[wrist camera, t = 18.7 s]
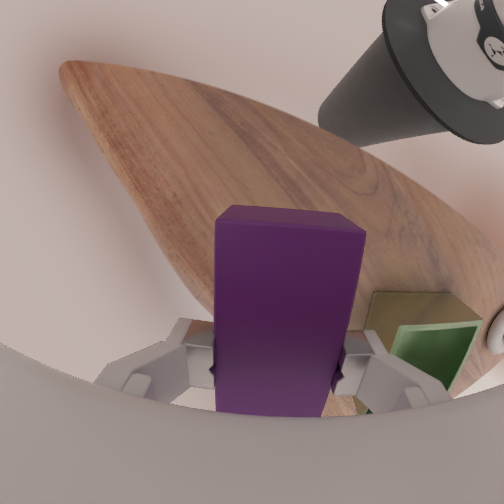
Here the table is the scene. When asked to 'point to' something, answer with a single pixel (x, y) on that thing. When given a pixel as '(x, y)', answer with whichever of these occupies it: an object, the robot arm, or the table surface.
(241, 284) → the purple rectangular block
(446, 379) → the green metal box
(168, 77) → the table surface
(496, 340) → the donut
